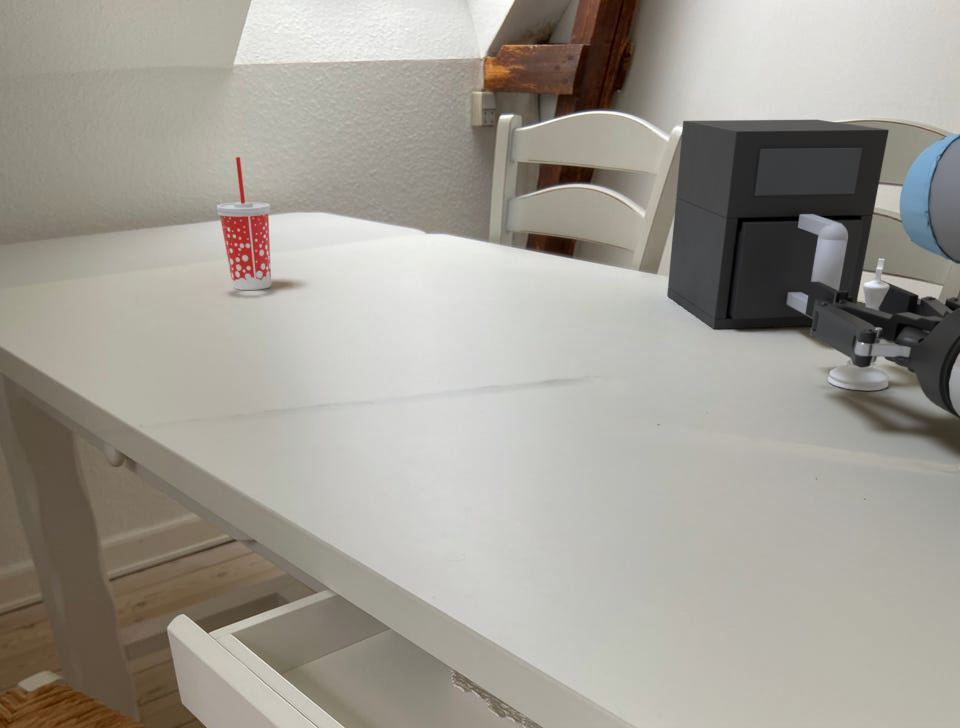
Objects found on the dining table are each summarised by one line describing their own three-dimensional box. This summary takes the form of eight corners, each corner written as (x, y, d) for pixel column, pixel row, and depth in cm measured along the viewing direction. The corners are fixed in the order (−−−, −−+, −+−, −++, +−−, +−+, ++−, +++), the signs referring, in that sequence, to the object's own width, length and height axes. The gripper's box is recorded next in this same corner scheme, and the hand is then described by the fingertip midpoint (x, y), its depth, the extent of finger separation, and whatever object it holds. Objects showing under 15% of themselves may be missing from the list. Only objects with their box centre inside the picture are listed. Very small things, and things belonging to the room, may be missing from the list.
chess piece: (890, 378, 87) (916, 256, 81) (885, 393, 83) (912, 266, 78) (831, 371, 88) (853, 252, 83) (823, 386, 84) (845, 261, 79)
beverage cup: (273, 279, 124) (260, 154, 117) (282, 289, 119) (269, 158, 112) (222, 283, 122) (206, 155, 115) (230, 292, 117) (214, 160, 110)
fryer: (854, 325, 103) (890, 129, 94) (714, 330, 101) (737, 131, 92) (790, 292, 117) (817, 119, 108) (666, 296, 115) (683, 120, 106)
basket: (882, 333, 95) (904, 223, 90) (762, 338, 94) (777, 226, 89) (785, 284, 115) (799, 192, 110) (684, 287, 114) (694, 194, 109)
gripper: (860, 430, 68) (738, 344, 88) (1102, 418, 70) (929, 337, 90) (883, 317, 64) (749, 253, 84) (1138, 308, 66) (949, 248, 86)
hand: (842, 297), depth 87 cm, fingers open, 5 cm apart
